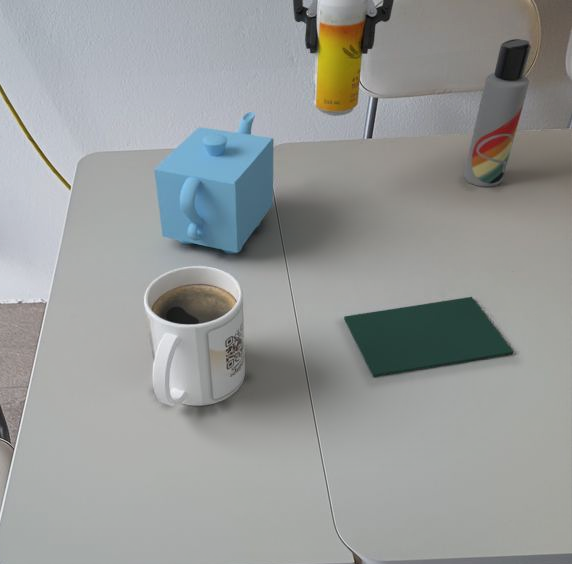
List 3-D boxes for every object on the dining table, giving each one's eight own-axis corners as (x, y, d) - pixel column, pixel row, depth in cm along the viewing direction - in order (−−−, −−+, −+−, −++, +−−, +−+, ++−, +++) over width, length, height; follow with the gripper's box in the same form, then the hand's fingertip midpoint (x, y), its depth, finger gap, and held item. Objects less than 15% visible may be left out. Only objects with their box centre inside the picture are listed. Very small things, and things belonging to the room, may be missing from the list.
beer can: (360, 116, 88) (371, -6, 78) (315, 118, 88) (321, -3, 78) (353, 98, 92) (363, -19, 82) (311, 100, 93) (315, -16, 82)
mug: (265, 387, 69) (265, 307, 61) (165, 433, 65) (152, 353, 57) (217, 332, 76) (212, 254, 68) (123, 371, 72) (107, 292, 64)
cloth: (471, 299, 78) (471, 296, 78) (512, 354, 71) (513, 351, 71) (344, 318, 77) (344, 316, 76) (373, 377, 69) (373, 374, 69)
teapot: (229, 275, 84) (225, 178, 75) (154, 257, 88) (141, 163, 78) (287, 194, 99) (289, 105, 89) (220, 182, 102) (216, 95, 93)
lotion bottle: (496, 190, 96) (534, 50, 83) (458, 182, 99) (489, 44, 85) (506, 174, 100) (544, 37, 86) (469, 166, 102) (500, 32, 89)
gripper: (291, -96, 81) (281, 36, 81) (409, -100, 79) (399, 35, 79) (294, -56, 89) (285, 64, 88) (402, -59, 86) (393, 65, 86)
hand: (338, 50), depth 83 cm, fingers closed on beer can, 6 cm apart
